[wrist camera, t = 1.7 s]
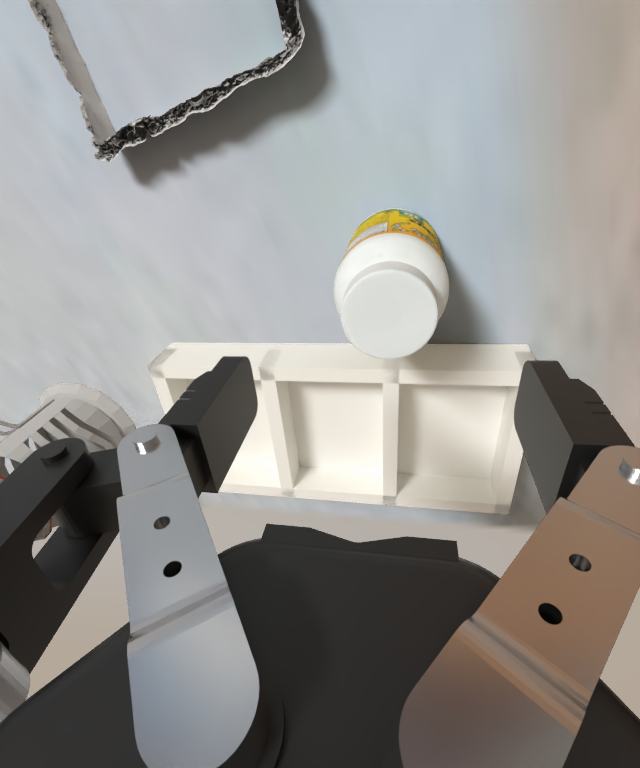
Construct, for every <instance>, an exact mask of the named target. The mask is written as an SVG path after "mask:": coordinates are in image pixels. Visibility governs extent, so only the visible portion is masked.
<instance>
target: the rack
mask: <svg viewBox="0 0 640 768" xmlns="http://www.w3.org/2000/svg"><path fill="white" fill-rule="evenodd" d="M223 356H246V357H248V358H249V360H250V363H251V368H252V373H253V378H254V383H255V389H256V394H257V400H258V408H257V414H256V417H255V419H254V421H253V423H252V425H251V427H250V429H249V431H248V433H247V435H246V437H245V439H244V441H243V443H242V445H241V447H240V449H239V451H238V453H237V455H236V457H235V459H234V461H233V463H232V465H231V467H230V469H229V471H228V473H227V475H226V477H225V479H224V481H223V483H222V485H221V487H220V489H219V492H231V493H244V494H256V495H269V496H281V497H294V498H306V499H319V500H331V501H344V502H356V503H369V504H381V505H394V506H406V507H419V508H431V509H444V510H456V511H468V512H481V513H493V514H506V515H509V511H510V506H511V502H512V498H513V494H514V489H515V485H516V481H517V477H518V472H519V468H520V464H521V460H522V456H523V448H522V446H521V443H520V440H519V437H518V435H517V432H516V429H515V425H514V407H515V402H516V398H517V393H518V388H519V383H520V379H521V374H522V369H523V366H524V363H525V362H526V361H527V360H535V358H534V356H533V354H532V352H531V350H530V349H529V347H528V345H527V344H425V345H424V346H423V347H422V348H421V349H419V350H418V351H416V352H415V353H413V354H411V355H408V356H406V357H403V358H398V359H380V358H375V357H372V356H369V355H367V354H365V353H363V352H361V351H360V350H358V349H357V348H356V347H355V346H354V345H353V344H352V343H171V344H170V345H169V346H168V347H167V348H166V349H165V350H164V351H163V352H162V353H161V354H159V355H158V356H157V357H156V358H155V359H154V360H153V361H152V362H151V363H150V364H149V365H148V367H149V370H150V373H151V376H152V379H153V382H154V385H155V387H156V390H157V393H158V396H159V399H160V402H161V404H162V407H163V410H164V413H165V415H166V414H167V412H168V411H169V410H170V409H171V407H172V406H173V405H174V404H175V402H176V401H177V400H179V399H180V396H181V395H182V394H183V393H184V391H185V392H186V389H187V388H188V387H189V385H190V384H191V383H192V382H193V380H194V379H196V378H197V377H199V376H201V375H202V374H204V373H205V372H207V371H212V369H213V368H214V367H215V366H216V364H217V363H218V362H219V360H220V359H221V358H222V357H223Z"/></svg>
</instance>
